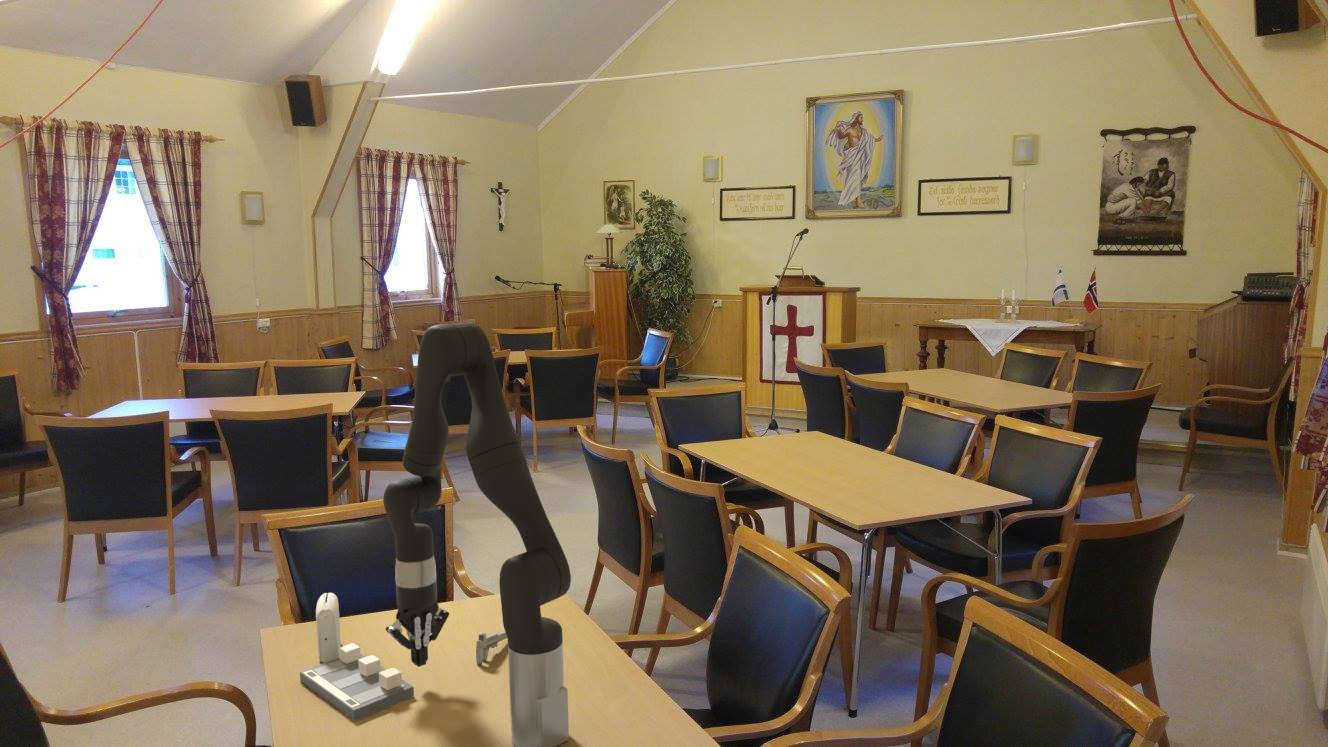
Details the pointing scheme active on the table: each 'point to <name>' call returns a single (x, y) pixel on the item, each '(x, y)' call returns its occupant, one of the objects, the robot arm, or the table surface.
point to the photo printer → (328, 627)
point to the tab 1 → (349, 653)
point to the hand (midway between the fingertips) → (420, 664)
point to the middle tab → (369, 665)
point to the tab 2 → (390, 678)
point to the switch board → (353, 688)
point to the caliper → (487, 644)
